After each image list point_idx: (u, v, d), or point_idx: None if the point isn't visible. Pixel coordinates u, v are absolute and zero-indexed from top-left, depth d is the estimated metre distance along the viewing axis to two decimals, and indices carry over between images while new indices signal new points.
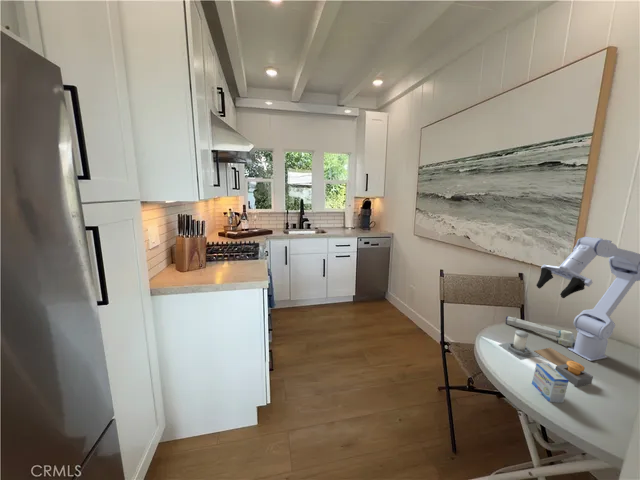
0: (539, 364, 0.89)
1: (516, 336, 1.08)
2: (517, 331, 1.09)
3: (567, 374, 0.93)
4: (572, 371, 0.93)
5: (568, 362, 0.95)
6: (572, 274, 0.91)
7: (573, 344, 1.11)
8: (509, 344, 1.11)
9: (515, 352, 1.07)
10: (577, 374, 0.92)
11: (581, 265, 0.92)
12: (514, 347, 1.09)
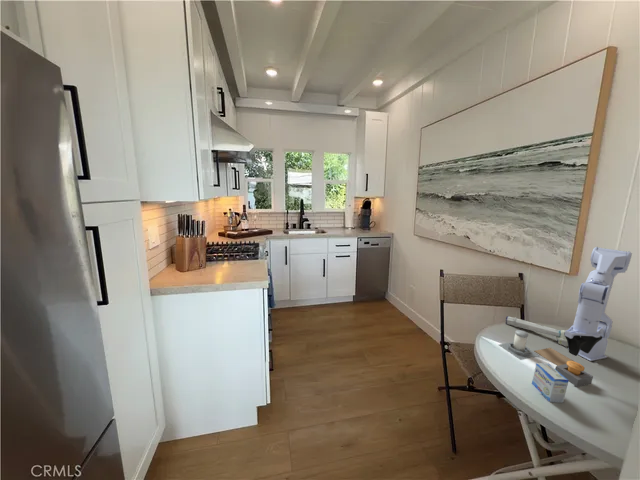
0: (539, 364, 0.89)
1: (516, 336, 1.08)
2: (517, 331, 1.09)
3: (567, 374, 0.93)
4: (572, 371, 0.93)
5: (568, 362, 0.95)
6: None
7: None
8: (509, 344, 1.11)
9: (515, 352, 1.07)
10: (577, 374, 0.92)
11: None
12: (514, 347, 1.09)
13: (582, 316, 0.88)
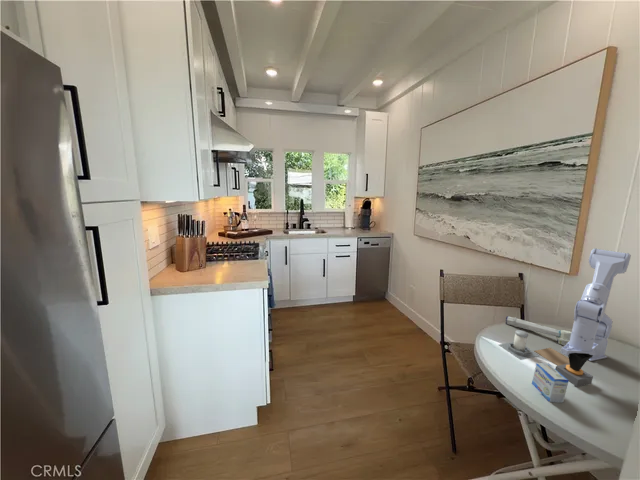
0: (539, 364, 0.89)
1: (516, 336, 1.08)
2: (517, 331, 1.09)
3: (567, 374, 0.93)
4: None
5: (567, 366, 0.95)
6: None
7: None
8: (509, 344, 1.11)
9: (515, 352, 1.07)
10: None
11: None
12: (514, 347, 1.09)
13: (578, 334, 0.90)
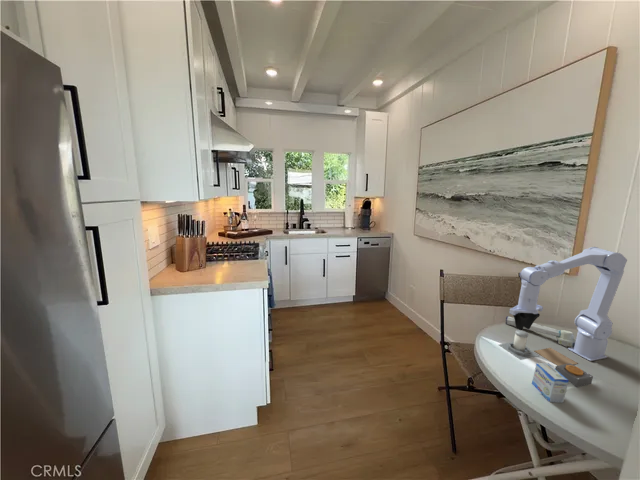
0: (539, 364, 0.89)
1: (516, 336, 1.08)
2: (517, 331, 1.09)
3: (567, 374, 0.93)
4: None
5: (567, 366, 0.95)
6: None
7: (573, 344, 1.11)
8: (509, 344, 1.11)
9: (515, 352, 1.07)
10: None
11: None
12: (514, 347, 1.09)
13: (520, 294, 1.05)
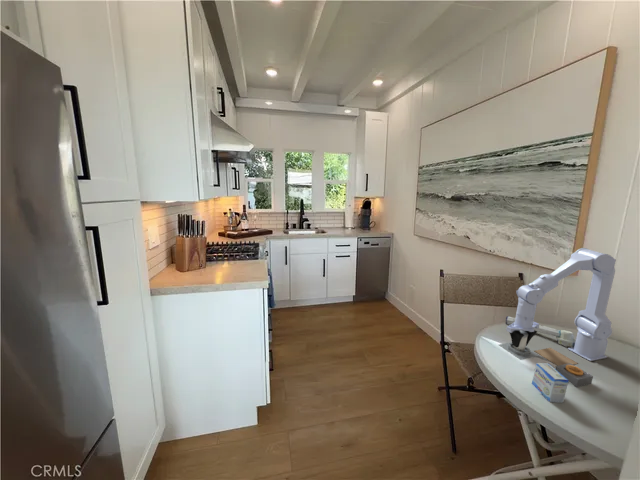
0: (539, 364, 0.89)
1: None
2: None
3: (567, 374, 0.93)
4: None
5: (567, 366, 0.95)
6: None
7: (573, 344, 1.11)
8: (509, 344, 1.11)
9: (515, 352, 1.07)
10: None
11: None
12: (514, 347, 1.09)
13: None
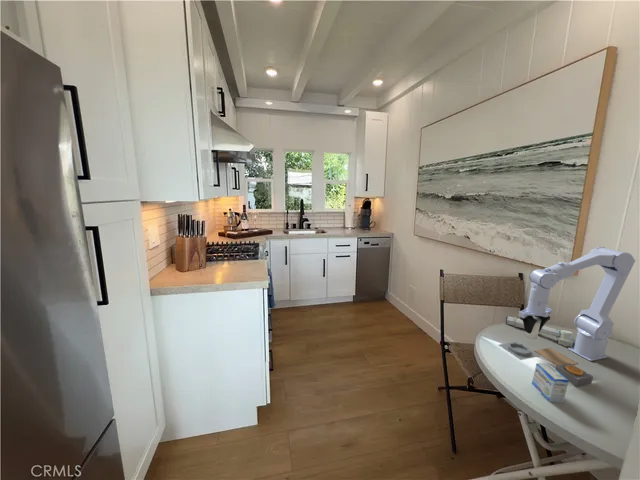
0: (539, 364, 0.89)
1: None
2: None
3: (567, 374, 0.93)
4: None
5: (567, 366, 0.95)
6: None
7: (573, 344, 1.11)
8: (509, 344, 1.11)
9: (515, 352, 1.07)
10: None
11: None
12: (527, 333, 1.07)
13: (529, 297, 1.04)
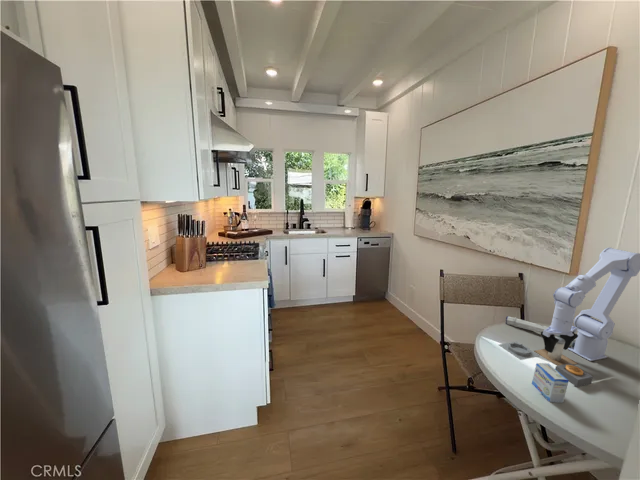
0: (539, 364, 0.89)
1: None
2: None
3: (567, 374, 0.93)
4: None
5: (567, 366, 0.95)
6: None
7: (573, 344, 1.11)
8: (509, 344, 1.11)
9: (515, 352, 1.07)
10: None
11: None
12: (550, 354, 1.05)
13: (554, 315, 1.02)
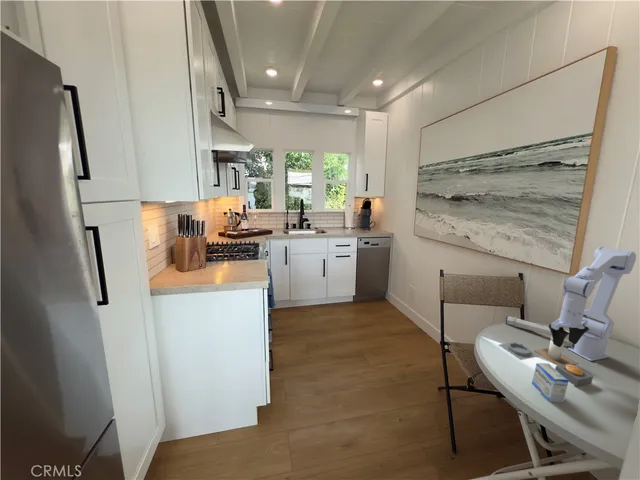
0: (539, 364, 0.89)
1: (552, 342, 1.04)
2: None
3: (567, 374, 0.93)
4: None
5: (567, 366, 0.95)
6: None
7: (573, 344, 1.11)
8: (509, 344, 1.11)
9: (515, 352, 1.07)
10: None
11: None
12: (550, 354, 1.05)
13: (566, 308, 0.94)
